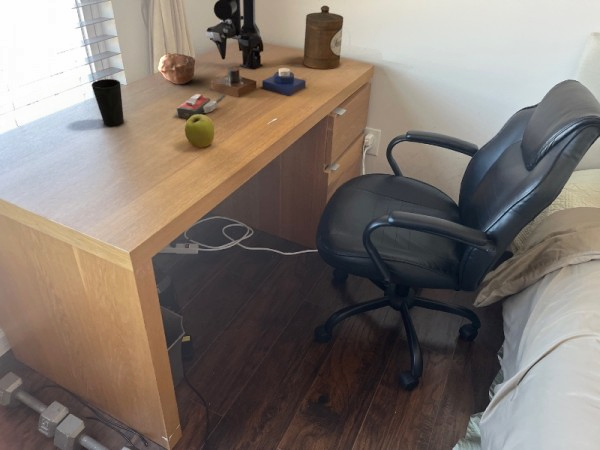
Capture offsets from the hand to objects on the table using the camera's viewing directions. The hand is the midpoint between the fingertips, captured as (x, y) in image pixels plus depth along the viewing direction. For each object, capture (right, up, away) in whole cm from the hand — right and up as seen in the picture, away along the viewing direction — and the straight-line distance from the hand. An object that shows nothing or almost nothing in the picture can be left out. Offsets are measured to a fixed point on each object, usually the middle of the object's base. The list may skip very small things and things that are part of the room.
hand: (234, 61), depth 163 cm
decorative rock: (-22, -4, +10) cm, 24 cm away
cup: (-33, -25, -20) cm, 46 cm away
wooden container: (+31, +10, +33) cm, 47 cm away
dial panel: (-1, -8, +6) cm, 10 cm away
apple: (-5, -33, -30) cm, 45 cm away
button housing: (+17, -7, +8) cm, 20 cm away
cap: (+17, -3, +6) cm, 18 cm away
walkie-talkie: (-9, -18, -9) cm, 23 cm away
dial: (-1, -5, +4) cm, 7 cm away
